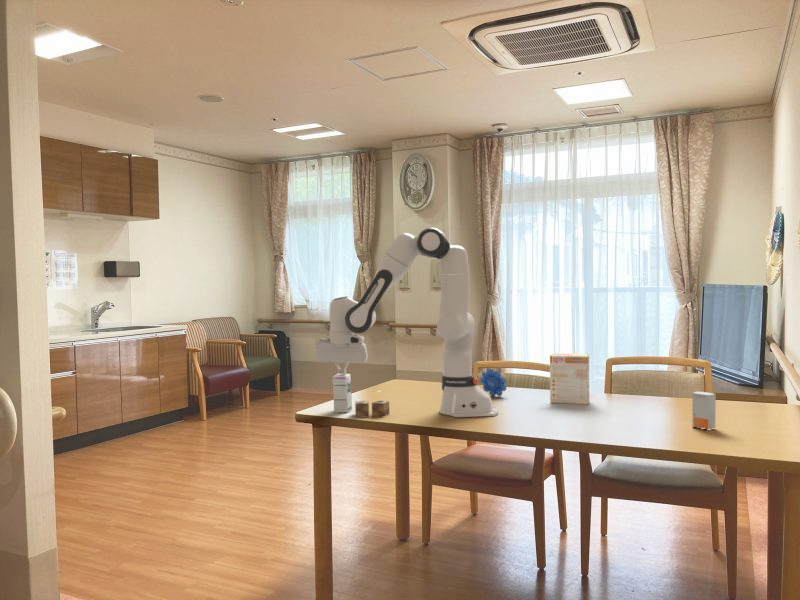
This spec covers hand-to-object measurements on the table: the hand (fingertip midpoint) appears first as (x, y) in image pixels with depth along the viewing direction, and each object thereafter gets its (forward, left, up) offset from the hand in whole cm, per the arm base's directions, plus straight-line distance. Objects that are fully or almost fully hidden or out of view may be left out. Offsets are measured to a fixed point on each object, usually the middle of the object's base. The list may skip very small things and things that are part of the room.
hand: (342, 373), depth 254 cm
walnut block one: (-9, +7, -15) cm, 19 cm away
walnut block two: (-16, +6, -15) cm, 23 cm away
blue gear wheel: (-59, -32, -15) cm, 69 cm away
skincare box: (-128, +22, -15) cm, 131 cm away
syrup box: (0, 0, -15) cm, 15 cm away
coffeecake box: (-90, -21, -15) cm, 94 cm away
